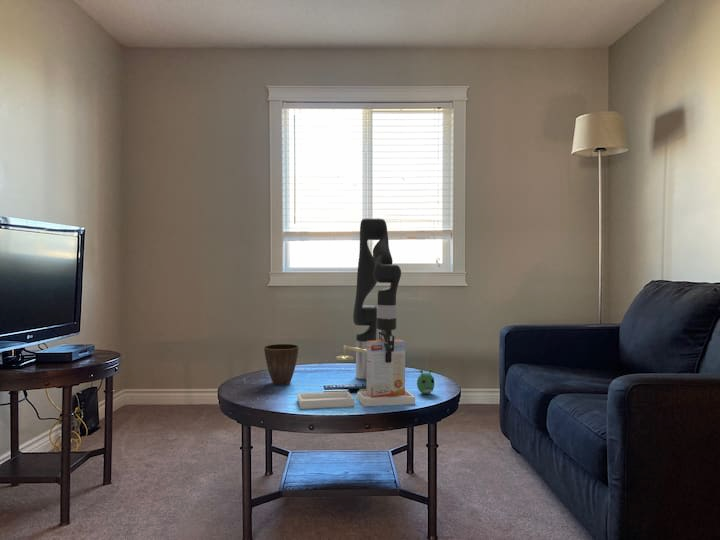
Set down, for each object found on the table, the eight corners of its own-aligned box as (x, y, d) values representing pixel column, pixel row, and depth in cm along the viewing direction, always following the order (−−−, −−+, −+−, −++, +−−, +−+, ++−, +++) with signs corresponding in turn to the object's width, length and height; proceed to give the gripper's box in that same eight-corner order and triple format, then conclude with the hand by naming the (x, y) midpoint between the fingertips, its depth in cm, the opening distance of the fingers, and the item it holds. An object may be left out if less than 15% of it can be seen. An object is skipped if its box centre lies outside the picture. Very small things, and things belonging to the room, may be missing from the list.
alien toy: (420, 396, 205) (421, 371, 205) (414, 392, 213) (414, 367, 213) (437, 396, 207) (437, 371, 207) (430, 391, 214) (430, 367, 214)
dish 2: (357, 398, 201) (357, 391, 201) (405, 396, 206) (405, 389, 205) (363, 406, 190) (363, 399, 190) (415, 404, 194) (415, 396, 194)
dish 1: (297, 400, 197) (297, 393, 197) (348, 398, 202) (348, 391, 202) (300, 408, 186) (300, 401, 186) (354, 406, 190) (354, 398, 190)
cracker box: (399, 391, 203) (399, 338, 203) (405, 395, 197) (406, 340, 197) (365, 394, 198) (366, 339, 198) (370, 398, 193) (371, 342, 192)
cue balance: (334, 393, 209) (334, 344, 209) (397, 390, 215) (398, 343, 215) (337, 397, 202) (337, 347, 202) (402, 394, 208) (403, 345, 208)
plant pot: (274, 389, 215) (275, 350, 215) (257, 382, 227) (257, 345, 227) (305, 384, 225) (305, 347, 225) (286, 378, 236) (287, 343, 236)
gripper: (372, 315, 204) (371, 357, 204) (381, 318, 190) (381, 364, 190) (390, 314, 205) (390, 357, 206) (401, 318, 191) (400, 364, 192)
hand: (386, 360), depth 198 cm, fingers closed on cracker box, 6 cm apart
